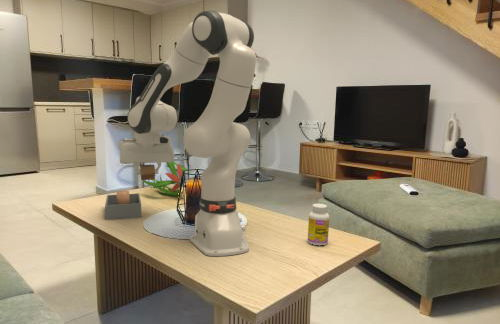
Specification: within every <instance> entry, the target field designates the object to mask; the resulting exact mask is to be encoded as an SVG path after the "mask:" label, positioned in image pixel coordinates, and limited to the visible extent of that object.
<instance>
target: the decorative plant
mask: <svg viewBox="0 0 500 324" xmlns="http://www.w3.org/2000/svg"><path fill="white" fill-rule="evenodd" d="M176 161H177V162H175V160H174V161H173V162H165V164H164V166H165V167H166V168H168V169H169V171H170V172H164V175H166V177H167V178H166V179H165V180H163V179H162V174H160V176H159V180H157V179H155V180H151V181H150V180H142V182H143V183H144V184H143V185H144V186H145V187H147V186H149V188H150V189H156V190H157V191H158V192H159V193H161V194H163V195H167V196H171V197H172V196H173V197H178V193H179V190H180V180H181V175H182V176H183V174H182V172H183V171H184V170H189V169H188V168H186V167H185V166H183V165H182V164H180V163H179V159H176ZM156 176H157V174H155V177H156ZM168 178H169V179H170V180H169V179H168ZM152 181H153V182H152ZM174 184H175V185H174ZM170 185H173V187H172V188H171V187H169V186H170ZM178 189H179V190H178Z"/></svg>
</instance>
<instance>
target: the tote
mask: <svg viewBox="0 0 500 324" xmlns="http://www.w3.org/2000/svg"><path fill="white" fill-rule="evenodd" d="M129 197H130V204H118V205H117V194H107V195H106V198H105V203H104V207H105V209H104V211H105V213H104V214H105V221H108V220H120V219H123V220H125V219H132V218H133V219H134V218H135V219H136V218H137V219H138V218H142V201H141V195H140V193H129Z"/></svg>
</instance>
